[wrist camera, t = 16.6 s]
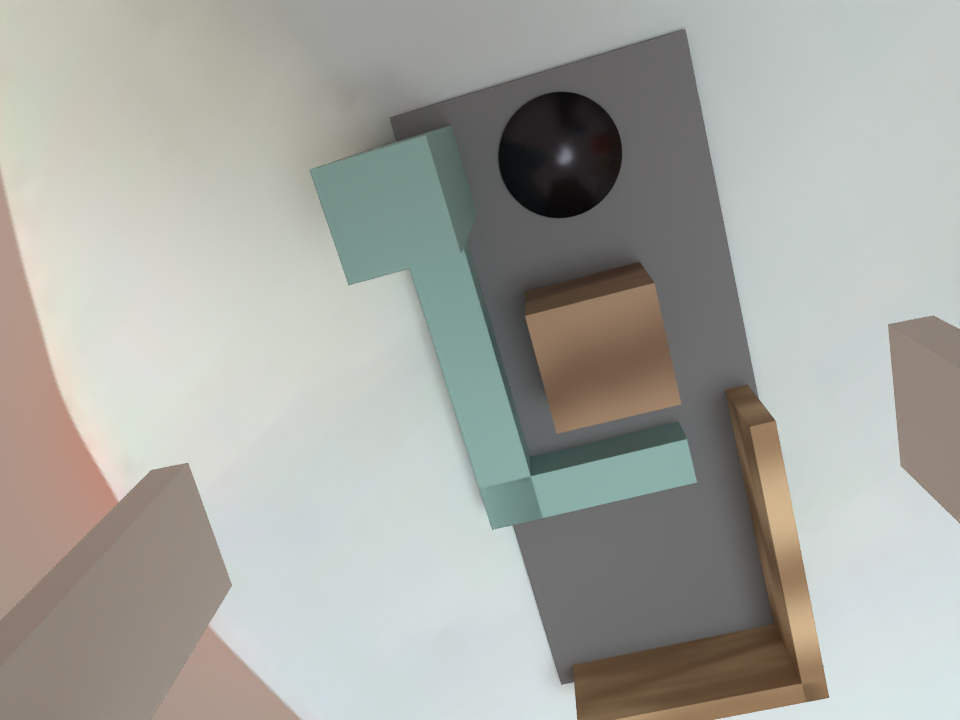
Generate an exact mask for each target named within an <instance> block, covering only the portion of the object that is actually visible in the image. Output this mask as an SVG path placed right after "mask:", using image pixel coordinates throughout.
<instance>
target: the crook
mask: <svg viewBox="0 0 960 720" xmlns="http://www.w3.org/2000/svg"><path fill="white" fill-rule="evenodd" d="M310 173H311V176H312V178H313V181H314V184H315V187H316V190H317V193H318V196H319V199H320V202H321V205H322V208H323V211H324V214H325V217H326V220H327V223H328V226H329V229H330V232H331V235H332V238H333V241H334V243H335V246H336V249H337V252H338V255H339V258H340V261H341V264H342V267H343V270H344V273H345V276H346V279H347V282H348V285H352V284H355V283H359V282H363V281H366V280H370V279H374V278H377V277H381V276H384V275H388V274H392V273H395V272H399V271H402V270H406V269H410V271H411V274H412V277H413V280H414V283H415V287H416V290H417V293H418V296H419V299H420V303H421V306H422V309H423V312H424V315H425V318H426V322H427V325H428V328H429V331H430V334H431V337H432V341H433V344H434V347H435V350H436V353H437V356H438V360H439V363H440V366H441V369H442V372H443V375H444V379H445V382H446V385H447V388H448V391H449V395H450V398H451V401H452V404H453V407H454V410H455V414H456V417H457V420H458V423H459V426H460V429H461V433H462V436H463V439H464V442H465V445H466V448H467V452H468V455H469V458H470V461H471V464H472V467H473V471H474V474H475V477H476V480H477V483H478V487H479V490H480V493H481V496H482V499H483V502H484V506H485V509H486V512H487V515H488V518H489V521H490V525H491V528H492V530H493V529H498V528H502V527H506V526H511V525H515V524H519V523H524V522H528V521H532V520H537V519H541V518H545V517H550V516H554V515H558V514H563V513H567V512H571V511H576V510H580V509H584V508H589V507H593V506H597V505H602V504H606V503H610V502H615V501H619V500H623V499H628V498H632V497H636V496H641V495H645V494H649V493H654V492H658V491H662V490H667V489H671V488H675V487H680V486H684V485H688V484H693V483H697V480H696V476H695V472H694V467H693V463H692V459H691V455H690V450H689V446H688V442H687V438H686V436H685V434H684V432H683V430H682V428H681V426H680V423H679V422H675V423H671V424H667V425H663V426H658V427H654V428H650V429H646V430H642V431H638V432H634V433H629V434H625V435H621V436H617V437H613V438H609V439H605V440H600V441H596V442H592V443H588V444H584V445H580V446H576V447H571V448H567V449H563V450H559V451H555V452H551V453H547V454H542V455H538V456H534V457H530V454H529V451H528V447H527V444H526V440H525V437H524V434H523V430H522V427H521V423H520V420H519V416H518V413H517V410H516V406H515V403H514V399H513V396H512V392H511V389H510V386H509V382H508V379H507V375H506V372H505V369H504V365H503V362H502V358H501V355H500V351H499V348H498V345H497V341H496V338H495V334H494V331H493V327H492V324H491V321H490V317H489V314H488V310H487V307H486V304H485V300H484V297H483V293H482V290H481V286H480V283H479V280H478V276H477V273H476V269H475V266H474V262H473V259H472V256H471V252H470V249H469V245H468V242H467V238H468V236H469V233H470V231H471V228H472V226H473V223H474V221H475V219H476V216H477V213H476V209H475V206H474V202H473V199H472V195H471V192H470V188H469V185H468V181H467V178H466V174H465V171H464V167H463V164H462V160H461V157H460V153H459V150H458V146H457V143H456V139H455V136H454V132H453V129H452V125H451V126H447V127H444V128H441V129H437V130H434V131H430V132H427V133H424V134H420V135H417V136H414V137H410V138H407V139H404V140H400V141H397V142H394V143H390V144H387V145H384V146H380V147H377V148H374V149H370V150H367V151H364V152H361V153H358V154H355V155H352V156H349V157H346V158H343V159H340V160H337V161H334V162H331V163H328V164H326V165H323V166H320V167H317V168H314V169H311V170H310Z"/></svg>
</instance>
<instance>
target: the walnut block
mask: <svg viewBox="0 0 960 720" xmlns="http://www.w3.org/2000/svg"><path fill="white" fill-rule="evenodd" d="M525 318H526V322H527V325H528V329H529V333H530V337H531V340H532V344H533V348H534V351H535V355H536V359H537V362H538V366H539V370H540V374H541V377H542V381H543V385H544V388H545V392H546V396H547V399H548V403H549V407H550V411H551V414H552V418H553V422H554V425H555V429H556V433H557V434H558V433H562V432H566V431H571V430H575V429H579V428H583V427H588V426H592V425H596V424H600V423H604V422H609V421H613V420H617V419H621V418H626V417H630V416H634V415H638V414H643V413H647V412H651V411H655V410H660V409H664V408H668V407H672V406H677V405H681V400H680V395H679V391H678V386H677V382H676V377H675V373H674V368H673V364H672V359H671V355H670V350H669V346H668V341H667V337H666V332H665V328H664V323H663V319H662V314H661V310H660V305H659V301H658V296H657V292H656V287H655V283H654V281H653V280H652V278H651V277H650V276H649V274H648V273H647V271H646V270H645V268H644V267H643V266H642V264H641V263H640V262H637V263H633V264H630V265H626V266H622V267H618V268H614V269H610V270H607V271H603V272H599V273H595V274H591V275H587V276H583V277H580V278H576V279H572V280H568V281H564V282H560V283H556V284H553V285H549V286H545V287H541V288H537V289H533V290H529V291H526V292H525Z"/></svg>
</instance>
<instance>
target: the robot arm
mask: <svg viewBox="0 0 960 720" xmlns="http://www.w3.org/2000/svg"><path fill="white" fill-rule="evenodd" d="M888 330H889V341H890V352H891V363H892V374H893V385H894V396H895V407H896V418H897V430H898V441H899V452H900V463H901V467H902V468H904V469H905V470H906V471H907V472H908V473H909V474H910V475H911V476H912V477H913V478H914V479H915V480H916V481H917V482H918V483H919V484H920V485H921V486H922V487H923V488H924V489H925V490H926V491H927V492H928V493H929V494H930V495H931V496H932V497H933V498H934V499H935V500H936V501H937V502H938V503H939V504H940V505H941V506H942V507H944V508H945V509H946V510H947V511H948V512H949V513H950V514H951V515H952V516H953V517H954V518H955V519H956V520H957V521H958V522H959V523H960V329H958V328H956V327H954V326H952V325H950V324H948V323H946V322H945V321H943V320H941V319H939V318H937V317H935V316H928V317H923V318H918V319H913V320H908V321H903V322H898V323H893V324H888ZM231 586H232V584H231V581H230V578H229V576H228V573H227V570H226V567H225V564H224V562H223V559H222V556H221V553H220V550H219V548H218V545H217V542H216V539H215V537H214V534H213V531H212V528H211V525H210V523H209V520H208V517H207V514H206V511H205V509H204V506H203V503H202V500H201V498H200V495H199V492H198V489H197V486H196V484H195V481H194V478H193V475H192V472H191V470H190V467H189V464H188V463H185V464H180V465H175V466H170V467H165V468H160V469H154V470H151V471H150V472H149V473H148V474H147V475H146V476H145V477H144V478H143V479H142V480H141V481H140V482H139V483H138V484H137V485H136V486H135V487H134V488H133V489H132V490H131V491H130V492H129V493H128V494H127V495H126V496H125V497H124V498H123V499H122V500H121V501H120V502H119V503H118V504H117V505H116V506H115V507H114V508H113V509H112V510H111V511H110V512H109V513H108V514H107V515H106V516H105V517H104V518H103V519H102V520H101V521H100V522H99V523H98V524H97V525H96V526H95V527H94V528H93V529H92V530H91V531H90V532H89V533H88V534H87V535H86V536H85V537H84V538H83V539H82V540H81V541H80V542H79V543H78V544H77V545H76V546H75V547H74V548H73V549H72V550H71V551H70V552H69V553H68V554H67V555H66V556H65V557H64V558H63V559H62V560H61V561H60V562H59V563H58V564H57V565H56V566H55V567H54V568H53V569H52V570H51V571H50V572H49V573H48V574H47V575H46V576H45V577H44V578H43V579H42V580H41V581H40V582H39V583H38V584H37V585H36V586H35V587H34V588H33V589H32V590H31V591H30V592H29V593H28V594H27V595H26V596H25V597H24V598H23V599H22V600H21V601H20V602H19V603H18V604H17V605H16V606H15V607H14V608H13V609H12V610H11V611H10V612H9V613H8V614H7V615H6V616H5V617H4V618H2V619H1V620H0V720H151V719H152V718H153V716H154V714H155V713H156V711H157V709H158V707H159V706H160V704H161V703H162V701H163V699H164V697H165V696H166V694H167V693H168V691H169V689H170V688H171V686H172V684H173V683H174V681H175V679H176V678H177V676H178V674H179V673H180V671H181V669H182V668H183V666H184V664H185V663H186V661H187V659H188V658H189V656H190V654H191V653H192V651H193V649H194V648H195V646H196V644H197V643H198V641H199V639H200V638H201V636H202V634H203V633H204V631H205V629H206V628H207V626H208V624H209V623H210V621H211V619H212V618H213V616H214V614H215V613H216V611H217V609H218V608H219V606H220V604H221V603H222V601H223V599H224V598H225V596H226V594H227V593H228V591H229V589H230V588H231Z"/></svg>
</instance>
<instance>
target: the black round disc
mask: <svg viewBox="0 0 960 720" xmlns="http://www.w3.org/2000/svg"><path fill="white" fill-rule="evenodd" d="M621 163H622V144H621V139H620V135H619V132H618V129H617V127H616V125H615V123H614V121H613V120H612V118H611V117H610V115H609V114H608V113H607V112H606V111H605V110H604V109H603V108H602V107H601V106H600V105H599V104H597V103H596V102H595V101H593V100H591V99H589V98H587V97H585V96H583V95H580V94H576V93H571V92H553V93H548V94H544V95H541V96H539V97H536V98H534V99H532V100H530V101H529V102H527V103H526V104H525V105H523V106H522V107H521V108H520V109H519V110H518V111H517V112H516V113H515V114H514V115H513V116H512V118H511V119H510V121H509V122H508V124H507V126H506V128H505V130H504V132H503V135H502V138H501V141H500V146H499V167H500V172H501V175H502V178H503V181H504V183H505V185H506V187H507V189H508V191H509V192H510V194H511V195H512V196H513V197H514V198H515V200H516V201H517V202H518V203H520V204H521V205H522V206H523V207H525V208H526V209H528V210H529V211H531V212H533V213H535V214H538V215H541V216H544V217H549V218H568V217H573V216H577V215H580V214H583V213H585V212H587V211H589V210H590V209H592V208H593V207H595V206H596V205H598V204H599V203H600V202H601V201H602V200H603V199H604V198H605V197H606V196H607V195H608V194H609V192H610V191H611V189H612V188H613V186H614V184H615V182H616V180H617V178H618V175H619V172H620V168H621Z"/></svg>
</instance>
